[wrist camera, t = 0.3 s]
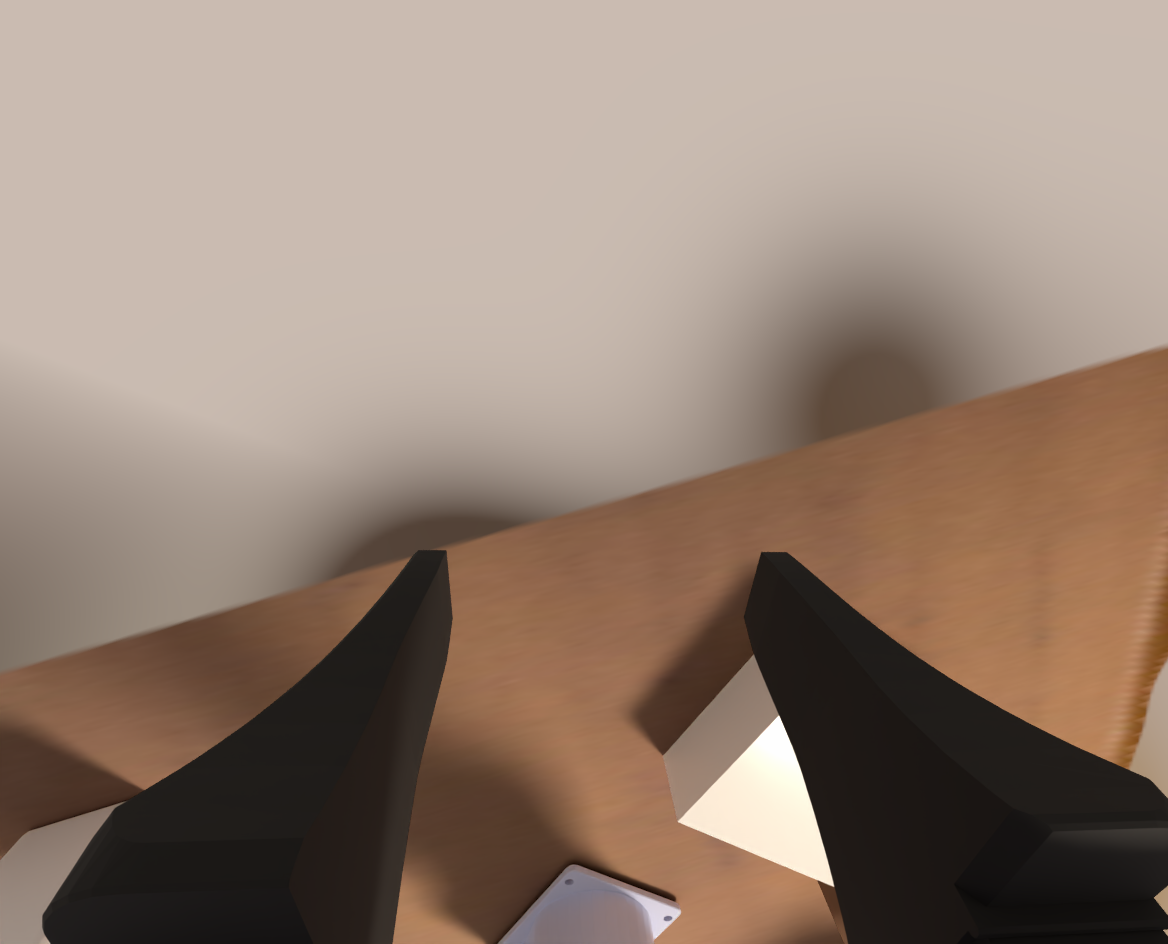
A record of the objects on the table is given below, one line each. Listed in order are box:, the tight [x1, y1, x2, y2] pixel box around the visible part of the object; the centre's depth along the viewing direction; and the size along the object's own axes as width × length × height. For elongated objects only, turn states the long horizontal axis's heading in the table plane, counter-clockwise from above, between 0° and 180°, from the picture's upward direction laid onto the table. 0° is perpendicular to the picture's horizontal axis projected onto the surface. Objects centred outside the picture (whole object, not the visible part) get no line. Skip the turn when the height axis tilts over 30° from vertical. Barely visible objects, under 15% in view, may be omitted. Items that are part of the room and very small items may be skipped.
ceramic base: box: [663, 655, 834, 887], centre depth 28 cm, size 10×10×4 cm
